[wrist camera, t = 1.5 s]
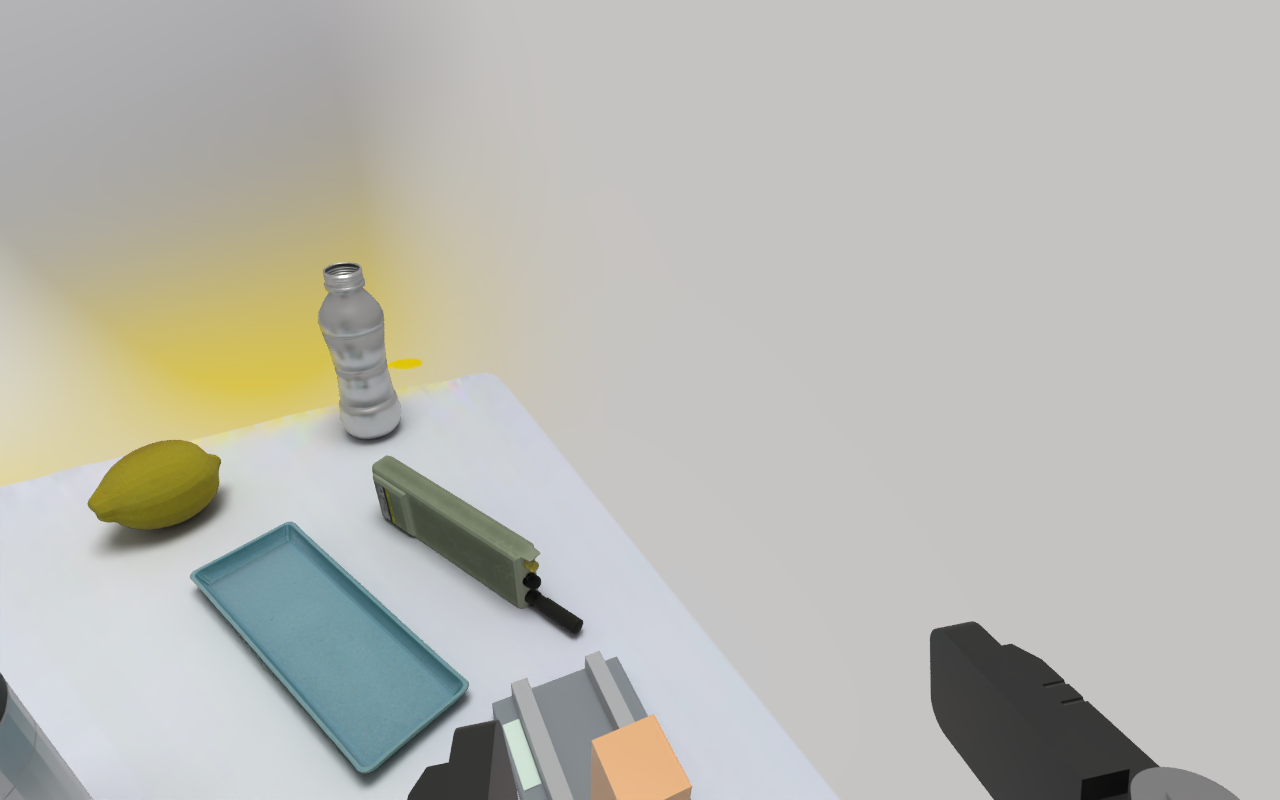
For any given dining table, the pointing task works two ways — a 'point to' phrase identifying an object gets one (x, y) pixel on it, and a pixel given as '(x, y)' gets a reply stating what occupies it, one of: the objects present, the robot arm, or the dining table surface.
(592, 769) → the switch tab
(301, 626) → the rectangular tray
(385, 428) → the plastic bottle
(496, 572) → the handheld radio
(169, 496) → the lemon
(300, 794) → the dining table surface
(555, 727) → the grey slotted base
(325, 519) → the dining table surface
